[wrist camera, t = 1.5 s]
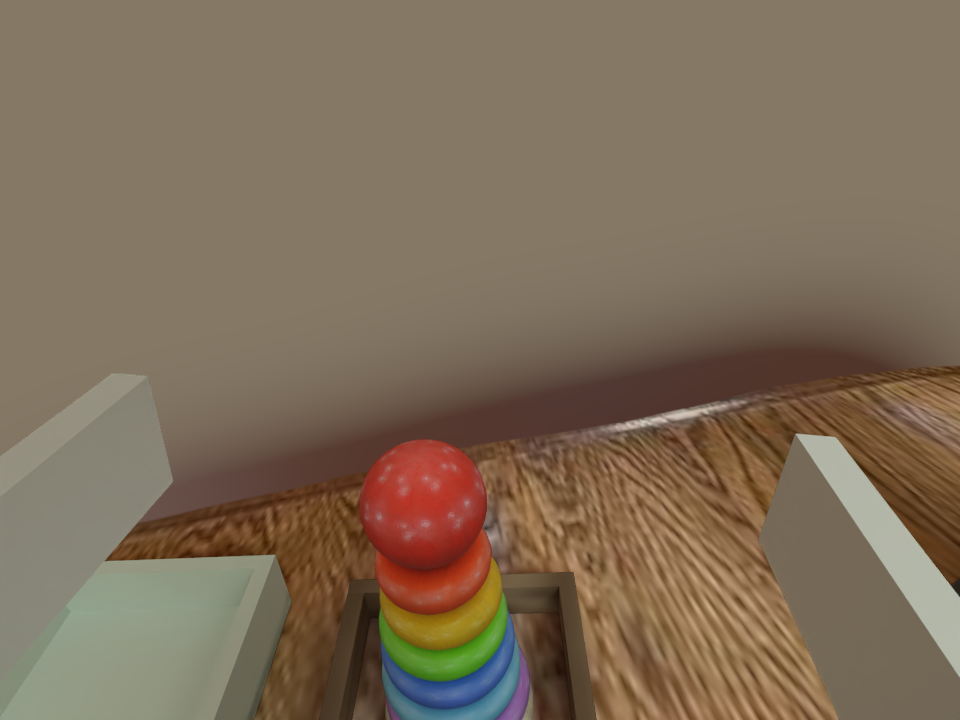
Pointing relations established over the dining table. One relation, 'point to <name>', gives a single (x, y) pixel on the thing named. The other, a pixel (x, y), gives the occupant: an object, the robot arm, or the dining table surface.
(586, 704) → the walnut holder
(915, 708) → the robot arm
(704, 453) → the dining table surface
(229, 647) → the sage tray
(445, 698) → the stacking toy
